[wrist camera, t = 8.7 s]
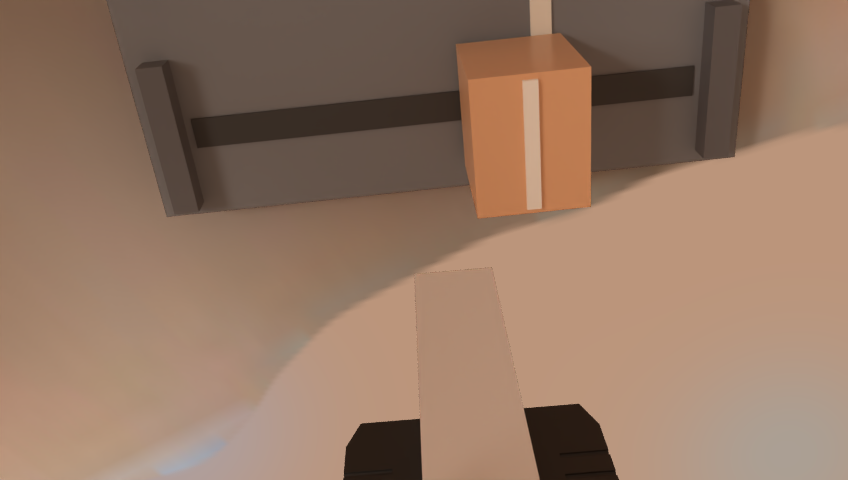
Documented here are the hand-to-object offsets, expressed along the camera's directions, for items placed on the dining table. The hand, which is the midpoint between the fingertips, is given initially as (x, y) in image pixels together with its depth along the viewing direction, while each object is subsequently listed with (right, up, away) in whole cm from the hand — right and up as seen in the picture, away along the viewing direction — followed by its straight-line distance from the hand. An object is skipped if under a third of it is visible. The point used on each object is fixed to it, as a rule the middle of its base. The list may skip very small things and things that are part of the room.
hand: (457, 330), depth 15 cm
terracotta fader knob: (+3, +7, +15) cm, 17 cm away
